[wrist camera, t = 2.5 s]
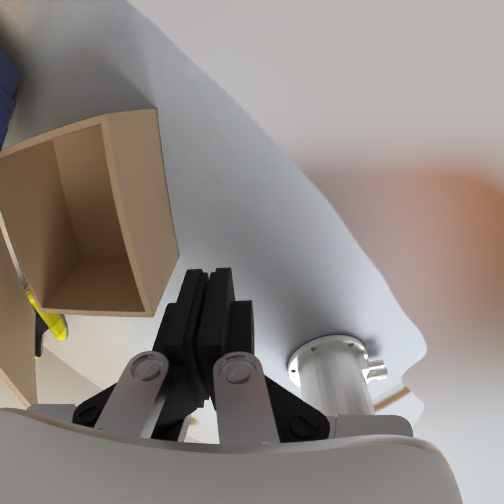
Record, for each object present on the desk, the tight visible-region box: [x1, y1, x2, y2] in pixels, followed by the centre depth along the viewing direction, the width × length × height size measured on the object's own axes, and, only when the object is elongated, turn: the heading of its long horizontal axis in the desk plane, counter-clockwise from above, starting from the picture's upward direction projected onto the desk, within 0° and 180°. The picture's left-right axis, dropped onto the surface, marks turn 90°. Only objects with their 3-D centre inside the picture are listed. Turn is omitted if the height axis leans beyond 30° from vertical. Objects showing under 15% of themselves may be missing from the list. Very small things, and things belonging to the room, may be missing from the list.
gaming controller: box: [24, 286, 68, 358], centre depth 37 cm, size 15×6×10 cm
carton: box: [0, 108, 179, 317], centre depth 26 cm, size 14×17×11 cm
